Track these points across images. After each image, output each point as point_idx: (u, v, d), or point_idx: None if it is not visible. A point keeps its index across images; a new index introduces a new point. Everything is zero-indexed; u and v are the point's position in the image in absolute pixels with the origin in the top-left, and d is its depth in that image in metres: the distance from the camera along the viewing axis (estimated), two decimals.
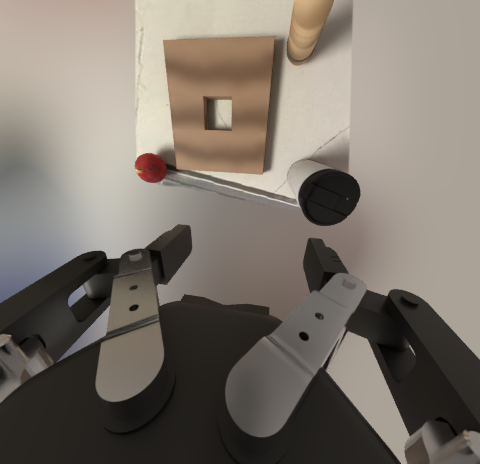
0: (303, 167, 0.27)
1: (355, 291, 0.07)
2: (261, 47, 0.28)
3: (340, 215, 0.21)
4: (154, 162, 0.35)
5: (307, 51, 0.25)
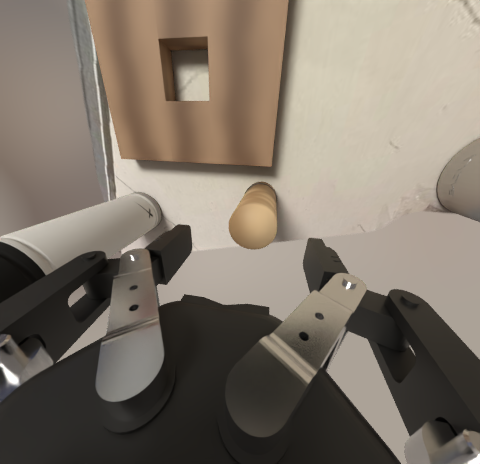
0: (102, 225, 0.20)
1: (355, 291, 0.07)
2: (262, 148, 0.21)
3: None
4: None
5: None
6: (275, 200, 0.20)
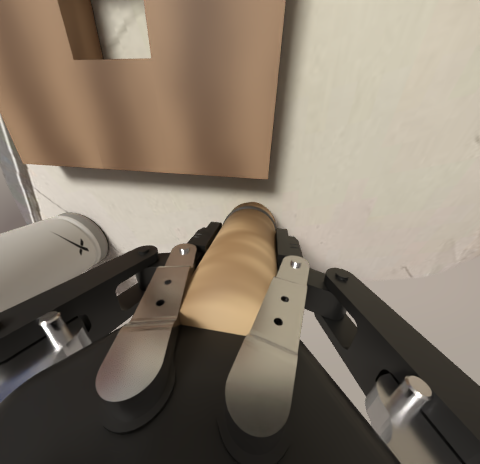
0: None
1: (298, 269, 0.08)
2: (252, 148, 0.12)
3: None
4: None
5: None
6: (274, 243, 0.11)
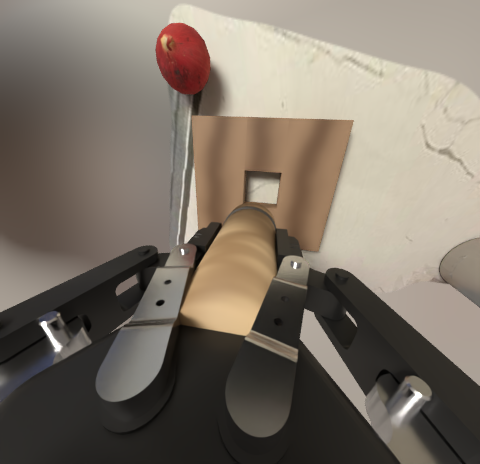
0: None
1: (298, 269, 0.08)
2: (313, 240, 0.28)
3: None
4: (191, 78, 0.20)
5: None
6: (274, 244, 0.11)
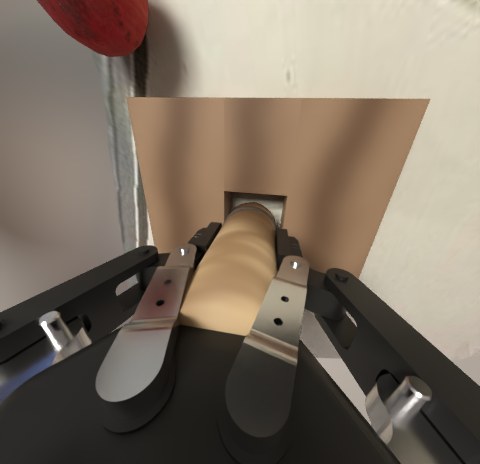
0: None
1: (298, 269, 0.08)
2: None
3: None
4: (97, 11, 0.09)
5: None
6: (274, 244, 0.11)
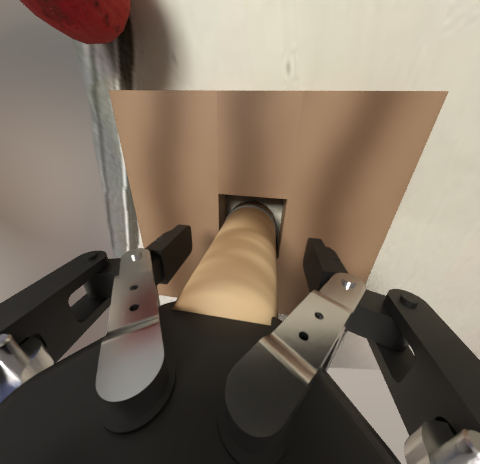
0: None
1: (354, 291, 0.07)
2: None
3: None
4: None
5: None
6: (274, 240, 0.11)
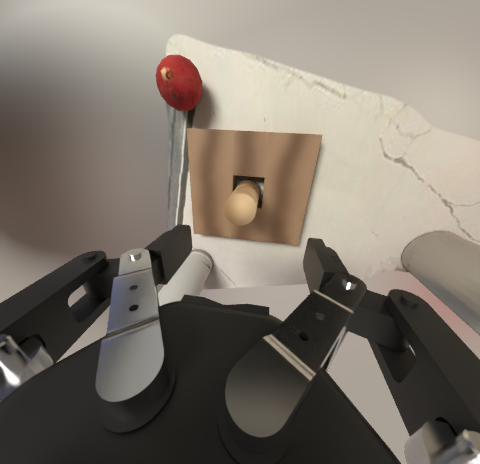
0: (193, 286, 0.31)
1: (355, 291, 0.07)
2: (293, 235, 0.33)
3: None
4: (186, 100, 0.24)
5: None
6: (257, 193, 0.27)
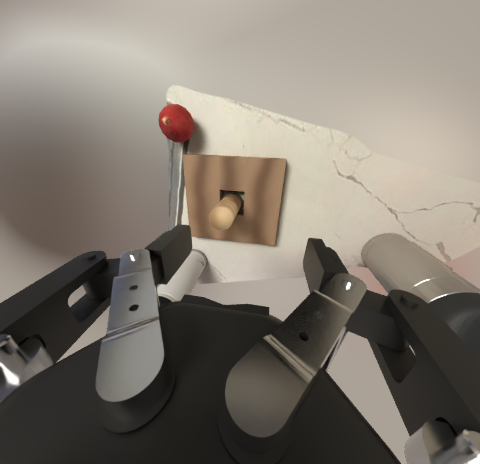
0: (188, 279, 0.39)
1: (355, 291, 0.07)
2: (270, 237, 0.40)
3: None
4: (181, 136, 0.32)
5: None
6: (237, 204, 0.35)
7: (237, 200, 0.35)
